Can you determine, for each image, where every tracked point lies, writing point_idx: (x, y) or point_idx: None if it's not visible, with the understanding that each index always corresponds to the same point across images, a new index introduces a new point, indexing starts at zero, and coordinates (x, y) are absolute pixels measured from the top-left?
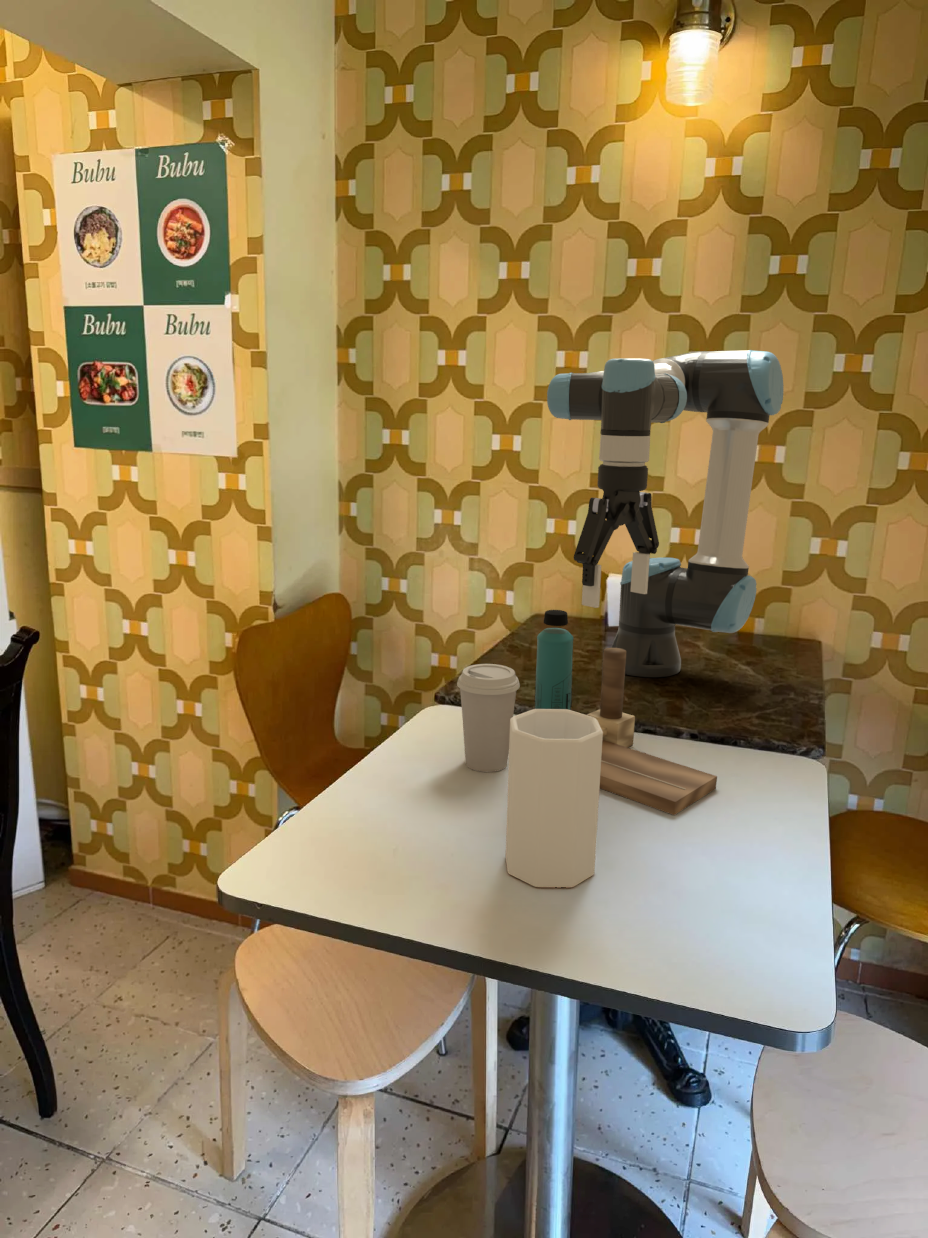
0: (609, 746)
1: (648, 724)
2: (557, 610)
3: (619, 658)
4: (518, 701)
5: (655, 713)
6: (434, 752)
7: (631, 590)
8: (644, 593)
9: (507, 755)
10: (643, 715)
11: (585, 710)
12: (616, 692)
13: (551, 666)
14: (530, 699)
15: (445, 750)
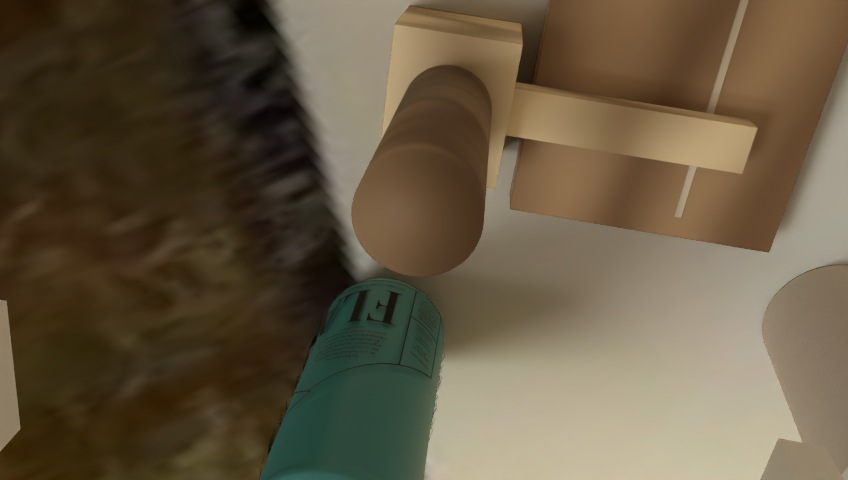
0: (586, 32)
1: (187, 42)
2: None
3: (460, 161)
4: None
5: (69, 67)
6: None
7: (13, 428)
8: (2, 306)
9: (844, 281)
10: (120, 95)
11: (223, 273)
12: (474, 109)
13: (421, 439)
14: (260, 440)
15: None
